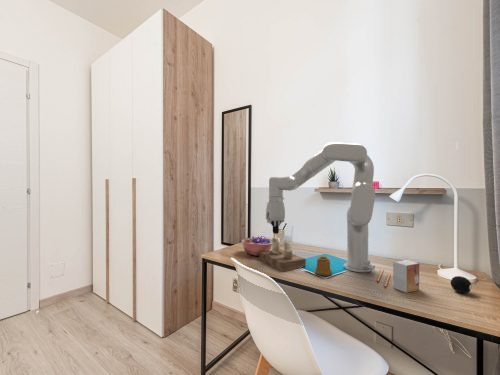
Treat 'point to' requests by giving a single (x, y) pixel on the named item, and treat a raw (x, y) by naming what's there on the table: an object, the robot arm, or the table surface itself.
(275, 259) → the brown block with hole
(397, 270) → the small box
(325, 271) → the ornamental finial
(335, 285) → the table surface
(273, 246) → the birch leg
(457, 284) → the billiard ball
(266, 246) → the cell model
